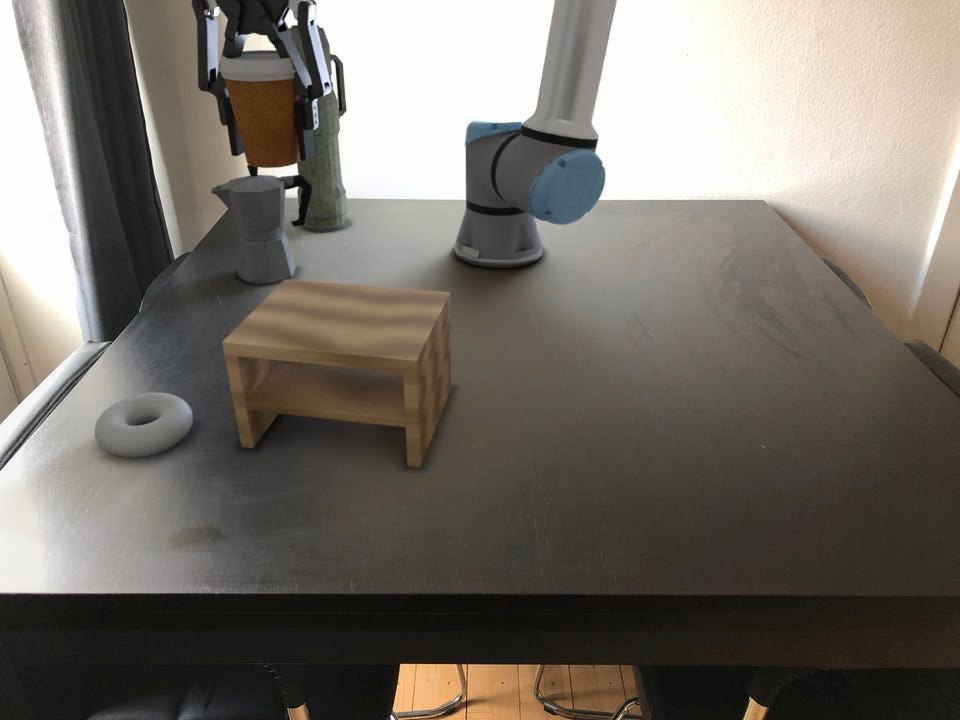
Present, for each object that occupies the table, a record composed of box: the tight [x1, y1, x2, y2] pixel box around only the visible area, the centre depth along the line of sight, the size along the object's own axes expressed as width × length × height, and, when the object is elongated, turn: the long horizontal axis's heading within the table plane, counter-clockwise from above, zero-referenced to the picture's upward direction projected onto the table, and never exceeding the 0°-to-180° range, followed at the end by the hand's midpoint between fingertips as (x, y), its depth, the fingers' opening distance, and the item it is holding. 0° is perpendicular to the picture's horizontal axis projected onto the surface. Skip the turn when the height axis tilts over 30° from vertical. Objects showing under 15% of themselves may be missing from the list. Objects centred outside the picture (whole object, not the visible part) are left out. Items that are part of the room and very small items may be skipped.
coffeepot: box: [210, 164, 313, 285], centre depth 118 cm, size 15×9×18 cm, turn 113°
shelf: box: [221, 278, 452, 469], centre depth 83 cm, size 16×20×13 cm
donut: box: [94, 392, 193, 458], centre depth 81 cm, size 10×4×10 cm
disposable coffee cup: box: [218, 49, 303, 169], centre depth 87 cm, size 10×10×12 cm
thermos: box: [288, 24, 349, 233], centre depth 134 cm, size 9×12×35 cm
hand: (273, 155), depth 89 cm, fingers closed on disposable coffee cup, 8 cm apart
